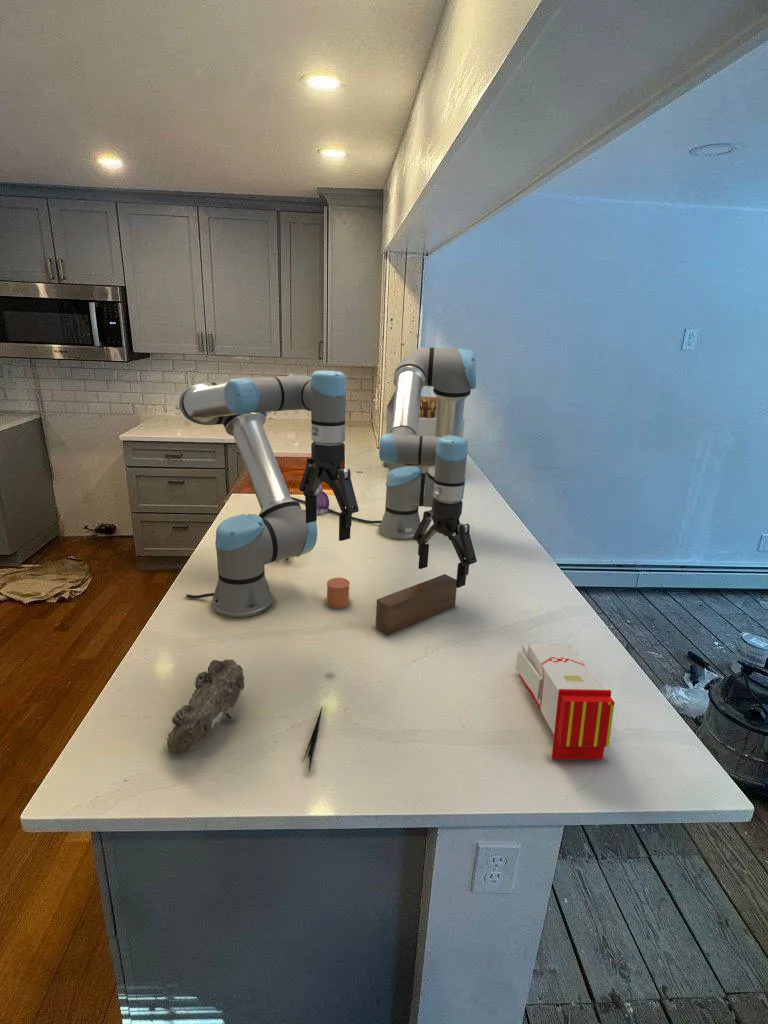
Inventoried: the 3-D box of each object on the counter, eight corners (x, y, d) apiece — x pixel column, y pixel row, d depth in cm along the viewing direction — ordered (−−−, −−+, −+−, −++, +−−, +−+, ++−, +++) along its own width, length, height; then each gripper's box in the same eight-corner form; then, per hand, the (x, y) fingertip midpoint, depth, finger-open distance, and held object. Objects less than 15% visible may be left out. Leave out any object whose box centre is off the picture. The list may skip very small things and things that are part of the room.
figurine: (311, 517, 211) (311, 478, 206) (301, 508, 220) (301, 471, 215) (334, 513, 216) (335, 476, 211) (324, 505, 224) (324, 469, 219)
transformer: (382, 463, 289) (386, 382, 275) (445, 464, 293) (451, 384, 279) (390, 482, 257) (394, 392, 243) (460, 483, 261) (468, 394, 247)
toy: (564, 626, 126) (624, 698, 97) (558, 682, 129) (615, 767, 100) (510, 625, 126) (554, 696, 96) (506, 681, 128) (547, 766, 99)
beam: (375, 627, 141) (376, 599, 138) (442, 600, 156) (444, 573, 153) (387, 636, 137) (389, 606, 135) (454, 606, 152) (457, 580, 150)
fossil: (192, 660, 117) (244, 628, 112) (224, 691, 120) (276, 661, 115) (142, 746, 98) (202, 712, 93) (182, 779, 101) (242, 748, 96)
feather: (331, 679, 122) (336, 673, 122) (307, 777, 96) (313, 769, 95) (324, 675, 122) (329, 669, 121) (298, 772, 95) (304, 764, 95)
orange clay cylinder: (322, 601, 152) (322, 581, 150) (340, 595, 156) (340, 575, 154) (335, 610, 148) (335, 590, 146) (353, 604, 151) (354, 583, 149)
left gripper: (284, 433, 133) (285, 517, 141) (348, 456, 116) (346, 551, 123) (311, 430, 138) (311, 512, 145) (376, 451, 120) (373, 543, 128)
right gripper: (402, 489, 148) (398, 563, 154) (476, 516, 130) (467, 598, 137) (423, 484, 152) (418, 557, 159) (496, 510, 135) (487, 590, 142)
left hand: (327, 530), depth 134 cm, fingers open, 13 cm apart
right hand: (441, 576), depth 148 cm, fingers open, 13 cm apart
